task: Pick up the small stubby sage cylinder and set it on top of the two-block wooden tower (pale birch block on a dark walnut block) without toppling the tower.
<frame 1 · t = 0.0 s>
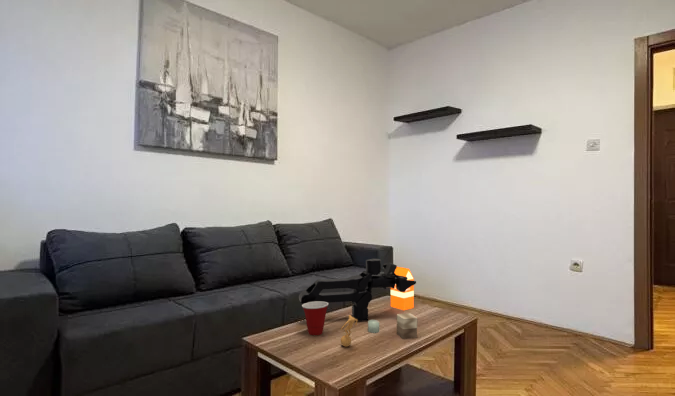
hand: (411, 280, 179), 17 cm above the table, tool horizontal, fingers open, 9 cm apart
stubby sage cylinder: (373, 331, 158), on the table
plastic cup: (314, 333, 155), on the table
walnut block: (406, 336, 153), on the table, touching birch block
birch block: (406, 326, 153), point 4 cm above the table, touching walnut block
orange juice: (402, 307, 193), on the table
figurine: (347, 347, 140), on the table
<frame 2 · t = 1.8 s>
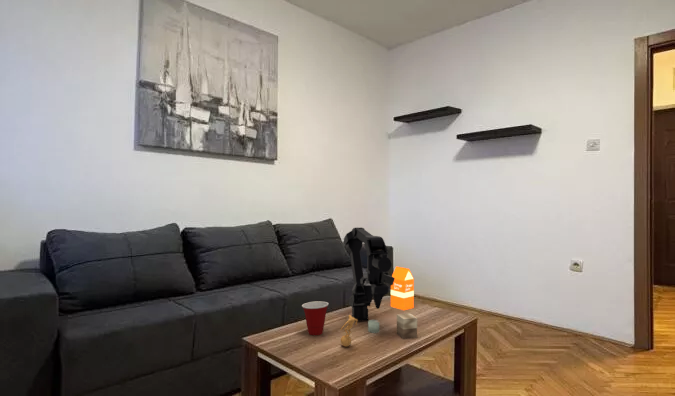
hand: (373, 305, 158), 11 cm above the table, tool pointing down, fingers open, 9 cm apart
nothing on the table moved.
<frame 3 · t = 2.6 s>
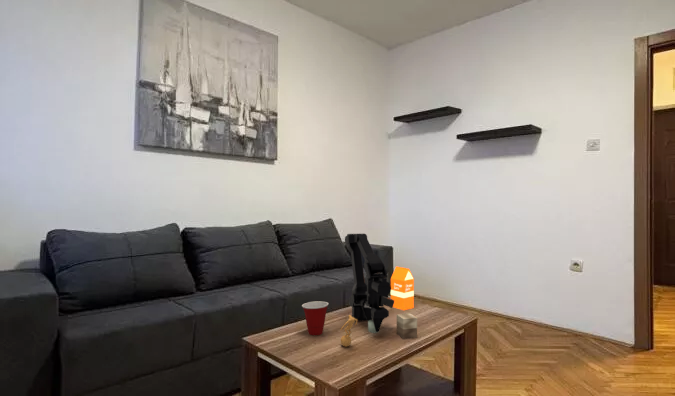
hand: (373, 328, 158), 1 cm above the table, tool pointing down, fingers open, 9 cm apart
nothing on the table moved.
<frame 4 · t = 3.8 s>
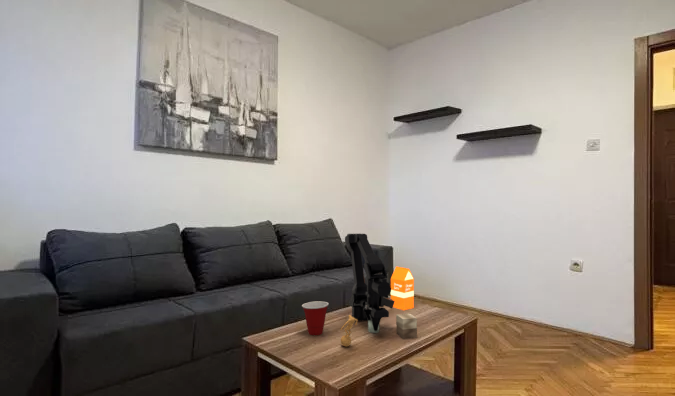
hand: (373, 328, 158), 1 cm above the table, tool pointing down, fingers closed on stubby sage cylinder, 5 cm apart
stubby sage cylinder: (373, 331, 158), on the table, touching gripper
everything else where it was.
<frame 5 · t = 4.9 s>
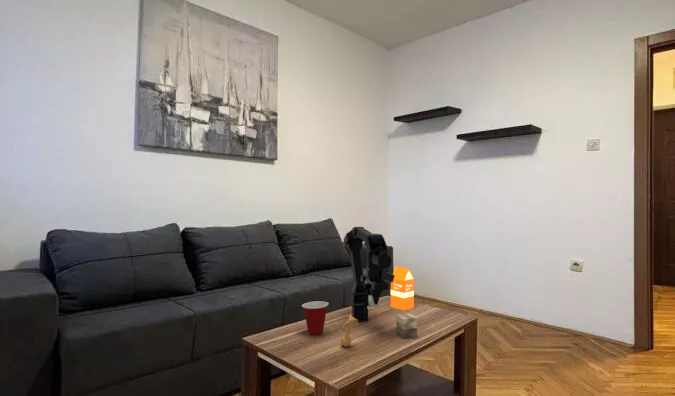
hand: (373, 302, 158), 12 cm above the table, tool pointing down, fingers closed on stubby sage cylinder, 5 cm apart
stubby sage cylinder: (373, 305, 158), point 11 cm above the table, touching gripper
everything else where it was.
when the fingers open (10 cm above the table, at t = 6.6 s): stubby sage cylinder drops 1 cm, point 8 cm above the table.
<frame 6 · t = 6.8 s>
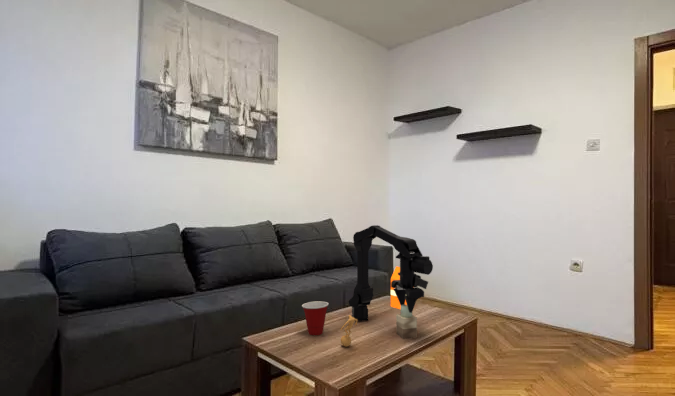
hand: (406, 309, 153), 10 cm above the table, tool pointing down, fingers open, 7 cm apart
stubby sage cylinder: (406, 315, 153), point 8 cm above the table
walnut block: (406, 336, 153), on the table
birch block: (406, 326, 153), point 4 cm above the table
everything else where it was.
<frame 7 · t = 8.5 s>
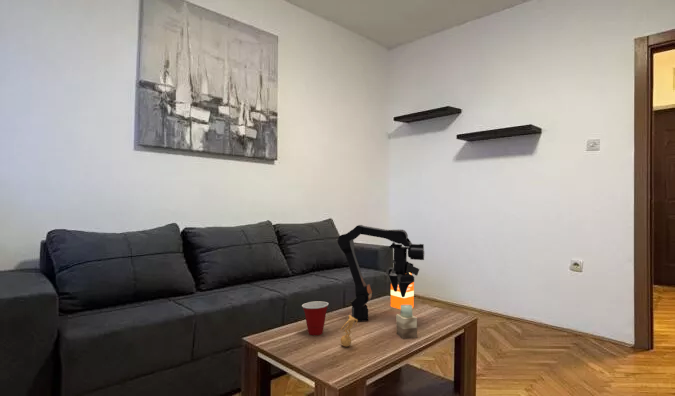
hand: (399, 294, 168), 13 cm above the table, tool pointing down, fingers open, 9 cm apart
stubby sage cylinder: (406, 315, 153), point 8 cm above the table, touching birch block
walnut block: (406, 336, 153), on the table, touching birch block
birch block: (406, 325, 153), point 4 cm above the table, touching stubby sage cylinder, walnut block
everything else where it was.
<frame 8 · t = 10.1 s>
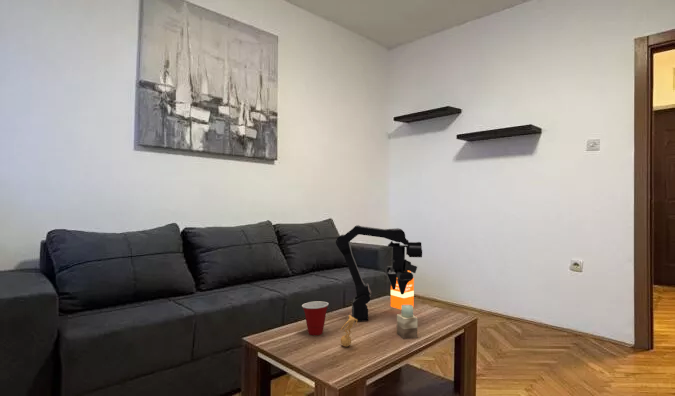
hand: (398, 291, 171), 13 cm above the table, tool pointing down, fingers open, 9 cm apart
nothing on the table moved.
at the end: stubby sage cylinder 0.0 cm off-centre on the birch block, point 4.0 cm above the birch block's base; stubby sage cylinder tilted 0°; birch block 0.0 cm off-centre on the walnut block, point 4.0 cm above the walnut block's base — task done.
